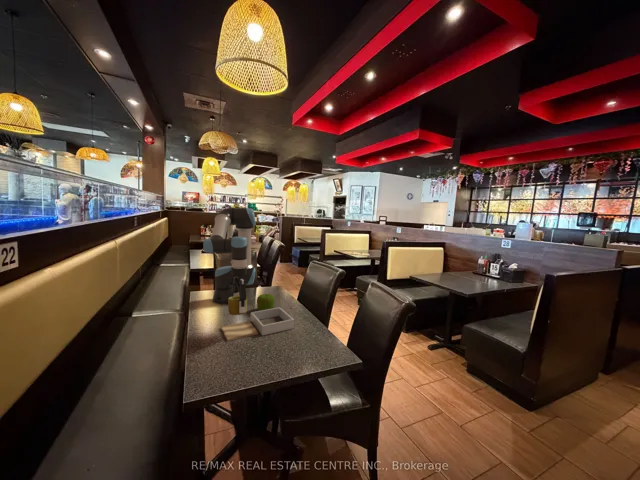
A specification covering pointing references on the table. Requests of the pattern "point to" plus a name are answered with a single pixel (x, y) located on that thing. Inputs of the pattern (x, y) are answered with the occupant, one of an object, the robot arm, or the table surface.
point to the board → (238, 330)
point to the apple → (265, 302)
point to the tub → (272, 327)
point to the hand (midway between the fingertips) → (239, 308)
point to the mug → (235, 305)
